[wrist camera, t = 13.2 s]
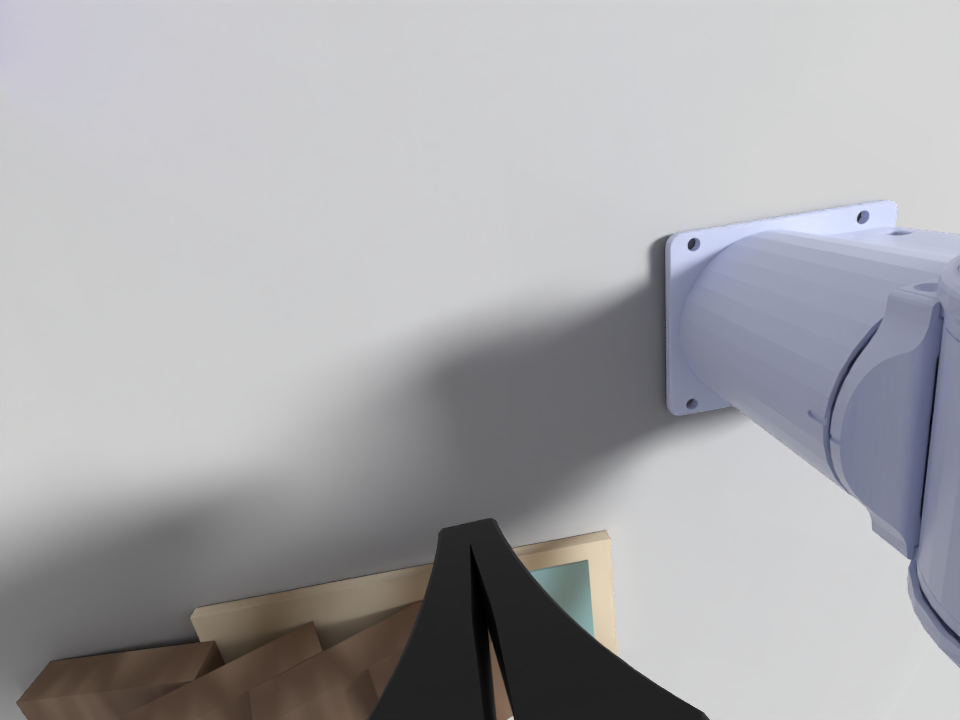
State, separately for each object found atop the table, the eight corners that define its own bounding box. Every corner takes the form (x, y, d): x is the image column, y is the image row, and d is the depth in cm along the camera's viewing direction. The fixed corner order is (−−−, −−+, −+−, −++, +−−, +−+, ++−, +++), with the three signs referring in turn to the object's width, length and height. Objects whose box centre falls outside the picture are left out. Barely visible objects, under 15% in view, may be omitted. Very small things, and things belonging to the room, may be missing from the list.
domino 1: (193, 680, 22) (16, 702, 23) (229, 754, 24) (64, 774, 24) (214, 640, 24) (50, 661, 24) (246, 712, 26) (93, 731, 26)
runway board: (606, 530, 25) (611, 539, 25) (613, 647, 28) (618, 659, 28) (195, 608, 24) (188, 620, 24) (246, 721, 27) (242, 735, 26)
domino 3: (439, 628, 23) (253, 731, 20) (456, 703, 25) (289, 810, 22) (422, 599, 25) (248, 690, 22) (440, 672, 27) (281, 766, 23)
